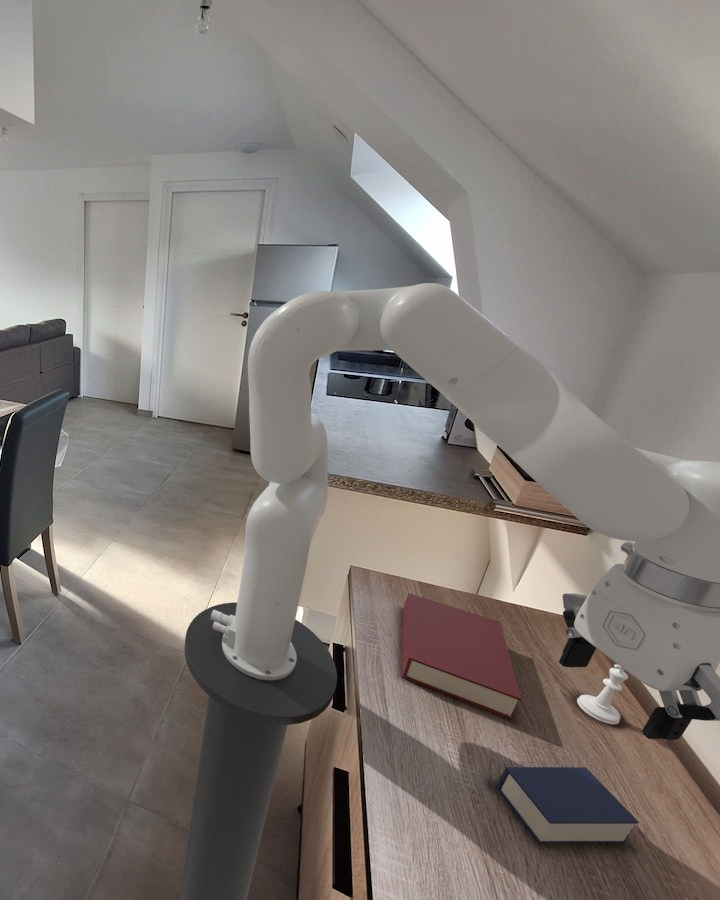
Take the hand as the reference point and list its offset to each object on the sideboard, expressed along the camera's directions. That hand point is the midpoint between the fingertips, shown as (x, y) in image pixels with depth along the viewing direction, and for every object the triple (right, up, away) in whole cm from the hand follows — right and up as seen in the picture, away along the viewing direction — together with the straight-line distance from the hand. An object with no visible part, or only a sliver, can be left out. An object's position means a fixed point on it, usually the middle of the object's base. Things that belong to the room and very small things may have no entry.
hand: (611, 697), depth 54 cm
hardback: (+2, -9, +29) cm, 30 cm away
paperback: (-2, -18, +5) cm, 18 cm away
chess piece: (+19, -13, +20) cm, 30 cm away
